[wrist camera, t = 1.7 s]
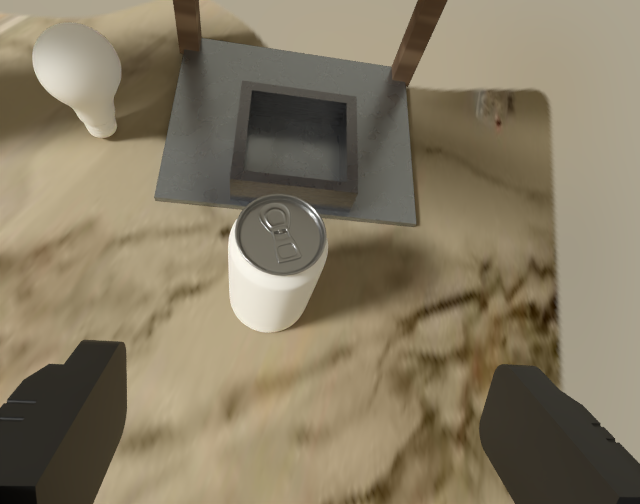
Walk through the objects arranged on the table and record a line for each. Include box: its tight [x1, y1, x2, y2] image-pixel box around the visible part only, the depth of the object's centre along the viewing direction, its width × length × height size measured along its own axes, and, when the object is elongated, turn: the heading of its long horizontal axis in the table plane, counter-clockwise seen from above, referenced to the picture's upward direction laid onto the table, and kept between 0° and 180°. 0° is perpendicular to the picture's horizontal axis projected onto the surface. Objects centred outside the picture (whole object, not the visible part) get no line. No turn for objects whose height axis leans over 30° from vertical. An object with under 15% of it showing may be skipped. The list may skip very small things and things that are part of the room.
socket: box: [154, 38, 416, 227], centre depth 45 cm, size 20×24×4 cm
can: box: [228, 194, 328, 332], centre depth 33 cm, size 6×6×12 cm
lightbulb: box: [32, 22, 121, 138], centre depth 38 cm, size 6×6×11 cm
